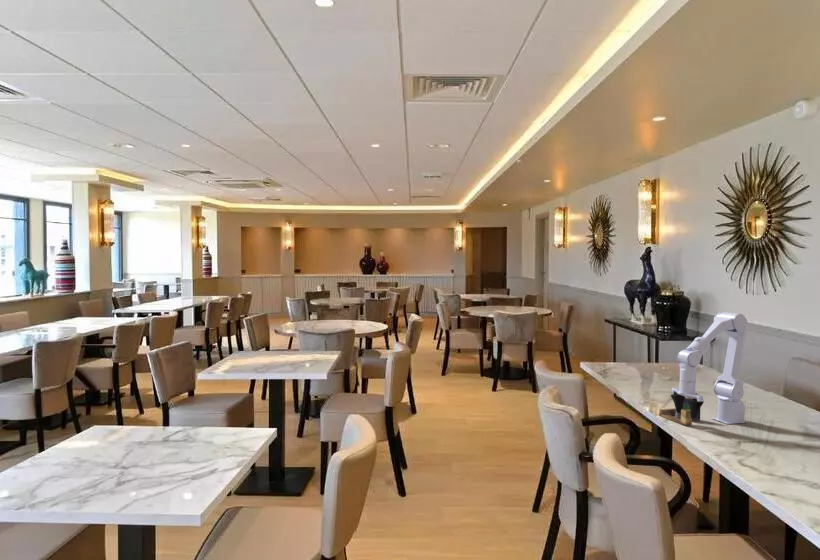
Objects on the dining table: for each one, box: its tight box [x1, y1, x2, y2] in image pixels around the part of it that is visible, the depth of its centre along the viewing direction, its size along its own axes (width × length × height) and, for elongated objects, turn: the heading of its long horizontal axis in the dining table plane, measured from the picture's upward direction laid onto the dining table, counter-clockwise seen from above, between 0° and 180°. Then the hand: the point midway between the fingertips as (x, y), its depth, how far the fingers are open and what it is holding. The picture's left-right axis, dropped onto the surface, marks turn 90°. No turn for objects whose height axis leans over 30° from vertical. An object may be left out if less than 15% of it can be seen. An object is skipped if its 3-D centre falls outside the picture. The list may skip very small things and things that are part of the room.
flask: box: [674, 397, 702, 422], centre depth 229 cm, size 9×3×11 cm, turn 73°
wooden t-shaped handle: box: [658, 408, 693, 427], centre depth 228 cm, size 12×15×6 cm
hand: (686, 415), depth 220 cm, fingers open, 7 cm apart
